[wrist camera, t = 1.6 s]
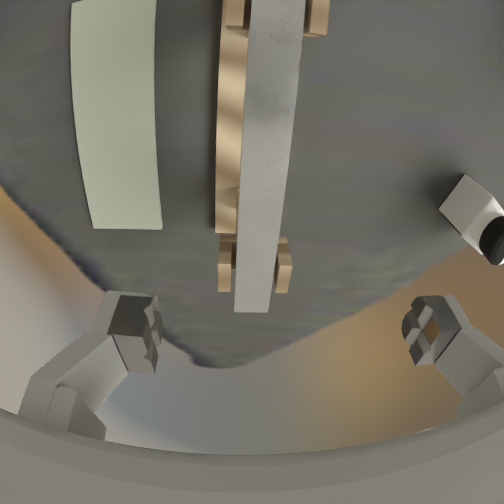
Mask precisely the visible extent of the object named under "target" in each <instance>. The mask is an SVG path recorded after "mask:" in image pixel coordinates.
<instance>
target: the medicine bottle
mask: <svg viewBox="0 0 504 504" xmlns="http://www.w3.org/2000/svg"><path fill="white" fill-rule="evenodd" d="M439 212H440V213H441V214H442V215H443V216H444V217H445V218H446V219H447V220H448V221H449V223H450V224H451V225H452V226H453V227H454V228H455V229H456V231H457V232H458V233H459V234H460V235H461V236H462V237H463V238H464V239H465V240H466V241H467V242H468V243H469V244H470V245H472V246H473V247H474V248H475V249H476V250H477V251H478V252H479V253H481V254H484V256H485V257H486V258H487V259H488V261H489V262H490V263H491V264H493V265H500V264H503V263H504V210H503V209H502V208H501V206H500V205H499V204H498V202H497V201H496V200H495V199H494V197H493V196H492V195H491V194H489V193H488V192H487V191H486V190H485V189H484V188H482V187H481V186H480V185H479V184H478V183H476V182H475V181H474V180H473V179H471V178H470V177H469V176H468V175H466V174H465V175H464V176H463V177H462V178H461V180H460V181H459V183H458V184H457V185H456V187H455V188H454V189H453V191H452V192H451V193H450V195H449V196H448V197H447V199H446V200H445V201H444V203H443V204H442V205H441V206H440V208H439Z"/></svg>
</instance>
